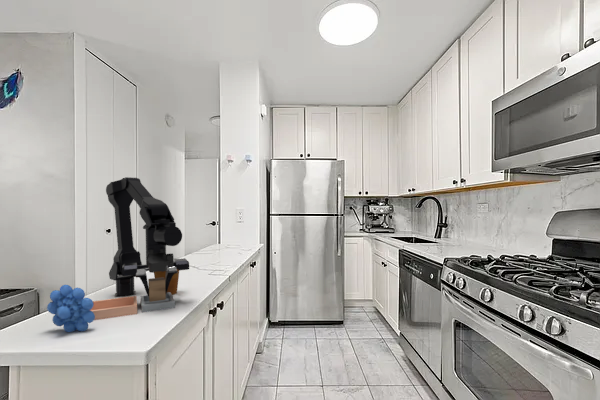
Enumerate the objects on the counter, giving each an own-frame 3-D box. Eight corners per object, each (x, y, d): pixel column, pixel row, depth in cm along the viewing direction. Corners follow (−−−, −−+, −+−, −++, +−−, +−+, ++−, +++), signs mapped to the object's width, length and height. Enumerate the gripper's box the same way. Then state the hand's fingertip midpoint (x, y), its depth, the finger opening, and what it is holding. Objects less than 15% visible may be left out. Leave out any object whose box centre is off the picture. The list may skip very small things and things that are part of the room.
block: (148, 298, 109) (148, 278, 109) (164, 296, 111) (163, 277, 111) (149, 301, 105) (149, 281, 105) (165, 299, 107) (165, 279, 107)
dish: (81, 312, 104) (81, 302, 104) (136, 305, 110) (136, 295, 110) (76, 324, 93) (76, 313, 93) (137, 315, 100) (137, 305, 100)
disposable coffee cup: (172, 299, 116) (171, 262, 116) (146, 298, 118) (145, 262, 118) (187, 291, 125) (186, 258, 125) (162, 291, 127) (162, 257, 127)
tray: (140, 303, 112) (140, 295, 112) (170, 299, 116) (170, 292, 116) (141, 314, 101) (141, 305, 101) (175, 309, 105) (174, 301, 105)
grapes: (35, 340, 83) (33, 289, 83) (55, 329, 90) (54, 282, 90) (83, 339, 83) (82, 288, 83) (100, 329, 90) (99, 281, 90)
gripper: (121, 249, 97) (122, 306, 97) (191, 244, 105) (192, 296, 105) (122, 245, 107) (123, 296, 107) (186, 240, 115) (187, 288, 115)
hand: (157, 294), depth 108 cm, fingers closed on block, 4 cm apart
